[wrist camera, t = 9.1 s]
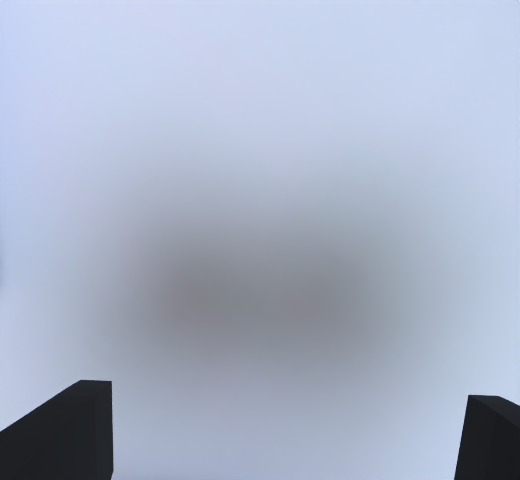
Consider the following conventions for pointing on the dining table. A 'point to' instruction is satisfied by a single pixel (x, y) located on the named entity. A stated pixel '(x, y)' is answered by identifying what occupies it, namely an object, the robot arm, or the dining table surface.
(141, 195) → the dining table surface
